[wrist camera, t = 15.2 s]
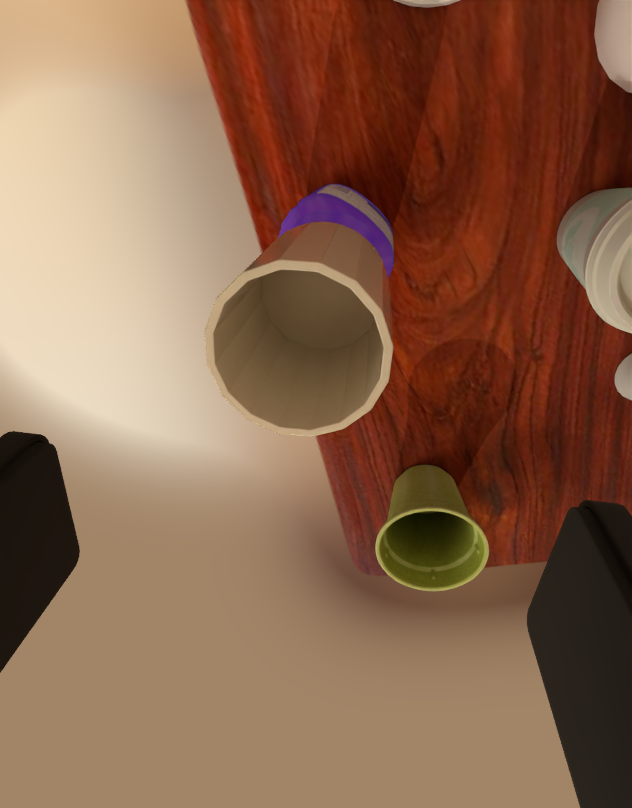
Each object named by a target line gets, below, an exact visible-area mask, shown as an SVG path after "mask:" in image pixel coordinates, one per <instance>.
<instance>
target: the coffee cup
mask: <svg viewBox="0 0 632 808" xmlns="http://www.w3.org/2000/svg"><path fill="white" fill-rule="evenodd" d="M557 247H558V250H559V253H560V255H561V257H562V258H563V260H564V261H565V263H566V264H567V265H568V267H569V268H570V269H571V271H572V272H573V273H574V275H575V276H576V277H577V279H578V280H579V281H580V283H581V284H582V285H583V286H584V288H585V289H586V291H587V295H588V298H589V301H590V303H591V305H592V307H593V308H594V310H595V311H596V313H597V314H598V315H599V316H600V317H601V318H602V319H603V320H604V321H606V322H607V323H608V324H610V325H612V326H613V327H615V328H618V329H620V330H623V331H626V332H629V333H632V188H617V189H605V190H599V191H595V192H593V193H590V194H588V195H586V196H584V197H583V198H581V199H580V200H578V201H577V202H576V203H575V204H574V205H572V206H571V208H570V209H569V210H568V211H567V212H566V214H565V215H564V217H563V219H562V221H561V223H560V225H559V229H558V233H557Z"/></svg>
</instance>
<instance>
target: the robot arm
mask: <svg viewBox="0 0 632 808" xmlns="http://www.w3.org/2000/svg"><path fill="white" fill-rule="evenodd" d="M394 1H397V2H400V3H403V4H405V5H408V6H415V7H427V8H430V7H437V6H444V5H449V4H452V3H454V2H457V1H460V0H394ZM79 552H80V550H79V545H78V540H77V536H76V531H75V527H74V523H73V519H72V514H71V510H70V506H69V502H68V497H67V493H66V489H65V485H64V480H63V476H62V472H61V467H60V463H59V459H58V455H57V451H56V448H55V447H54V445H52V444H49V441H48V439H47V438H46V437H45V436H43V435H40V434H31V433H23V432H15V431H13V432H8V433H6V434H4V435H3V436H1V437H0V672H1V671H2V670H3V668H4V667H5V665H6V664H7V662H8V661H9V659H10V658H11V657H12V655H13V654H14V653H15V651H16V650H17V648H18V647H19V646H20V644H21V643H22V641H23V640H24V638H25V637H26V636H27V634H28V633H29V631H30V630H31V629H32V627H33V626H34V624H35V623H36V622H37V620H38V619H39V617H40V616H41V615H42V613H43V612H44V610H45V609H46V607H47V606H48V605H49V603H50V602H51V600H52V599H53V598H54V596H55V595H56V593H57V592H58V591H59V589H60V588H61V586H62V585H63V583H64V582H65V581H66V579H67V578H68V576H69V575H70V574H71V572H72V571H73V569H74V568H75V566H76V564H77V561H78V558H79ZM527 627H528V632H529V636H530V639H531V642H532V645H533V649H534V653H535V656H536V659H537V663H538V666H539V669H540V672H541V676H542V680H543V683H544V686H545V690H546V693H547V696H548V700H549V703H550V707H551V710H552V713H553V717H554V720H555V724H556V726H557V730H558V733H559V737H560V740H561V744H562V747H563V751H564V754H565V757H566V761H567V764H568V767H569V771H570V774H571V777H572V781H573V784H574V788H575V791H576V795H577V798H578V801H579V805H580V808H632V516H631V515H630V513H629V512H628V510H627V509H626V508H625V507H624V506H623V505H620V504H615V503H607V502H598V501H590V500H586V501H583V502H582V503H581V504H580V505H579V507H578V508H577V507H572V508H571V509H569V511H568V513H567V515H566V517H565V520H564V522H563V525H562V527H561V530H560V532H559V535H558V537H557V540H556V542H555V545H554V547H553V550H552V552H551V555H550V557H549V560H548V562H547V565H546V567H545V569H544V572H543V574H542V577H541V579H540V582H539V584H538V587H537V589H536V592H535V594H534V597H533V599H532V602H531V604H530V607H529V609H528V614H527Z"/></svg>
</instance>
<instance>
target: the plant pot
mask: <svg viewBox="0 0 632 808" xmlns="http://www.w3.org/2000/svg"><path fill="white" fill-rule="evenodd" d="M376 555H377V559H378V561H379V563H380V565H381V567H382V568H383V569H384V571H385V572H386V573H387V574H388V575H389V576H390V577H392V578H393V579H394V580H396V581H397V582H399V583H401V584H403V585H405V586H408V587H411V588H415V589H419V590H424V591H442V590H448V589H452V588H456V587H458V586H461V585H463V584H465V583H467V582H469V581H470V580H472V579H473V578H475V577H476V576H477V575H478V574H479V573H480V572H481V571H482V569H483V568H484V566H485V564H486V562H487V559H488V555H489V546H488V541H487V538H486V536H485V534H484V532H483V530H482V529H481V528H480V526H479V525H478V524H477V523H476V522H475V521H474V520H473V519H472V518H471V517H470V516H469V514H468V511H467V509H466V507H465V505H464V502H463V500H462V498H461V495H460V493H459V491H458V488H457V486H456V484H455V481H454V479H453V478H452V476H450V475H449V474H448V473H446V472H445V471H444V470H442V469H441V468H439V467H437V466H433V465H418V466H413V467H411V468H409V469H407V470H406V471H405V472H404V473H403V474H402V475H400V476H399V477H398V478H397V479H396V481H395V484H394V489H393V494H392V499H391V505H390V510H389V515H388V519H387V521H386V523H385V524H384V525H383V527H382V528H381V530H380V531H379V534H378V536H377V540H376Z"/></svg>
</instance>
